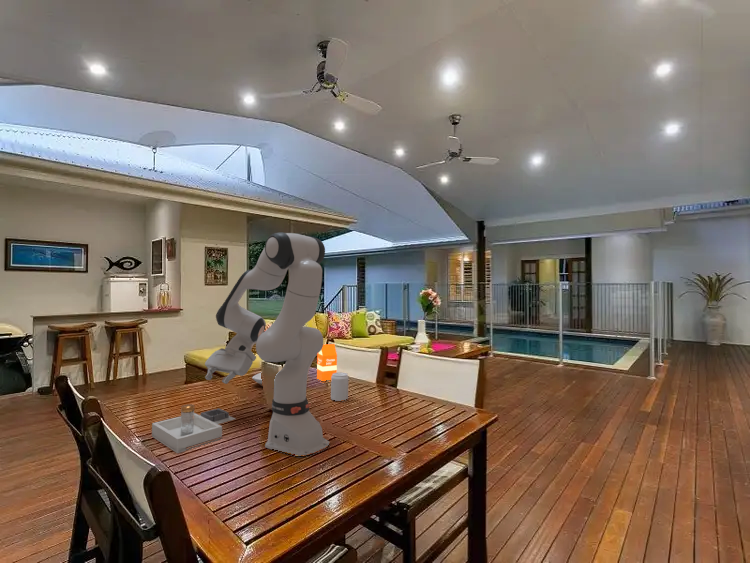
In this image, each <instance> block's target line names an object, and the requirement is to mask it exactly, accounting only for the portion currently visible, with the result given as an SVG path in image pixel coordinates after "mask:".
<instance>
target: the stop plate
mask: <svg viewBox="0 0 750 563" xmlns="http://www.w3.org/2000/svg"><path fill="white" fill-rule="evenodd" d="M199 415H200V416H202V417H204V418H206V419H208V420H210V421H212V422H214V423H216V424H218V425H220V424H223V423H226V422H230V421H233V420H236V418H235V417H233V416H230V413H229V412H228V411H226V410H224V409H221V408H215V409H210V410H206V411H204V412H200V414H199Z"/></svg>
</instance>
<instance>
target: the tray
mask: <svg viewBox="0 0 750 563" xmlns="http://www.w3.org/2000/svg"><path fill="white" fill-rule="evenodd" d="M200 415H201V414H198V413H195V412H194V426H193V433H192V434H189V435H185V436H182V437H181V436H180V434H181V415H180V416H177V417H173V418H168V419H165V420H160V421H157V422H152V423H151V437H153V439H155V440H156V441H158V442H159V443H161V444H163V446H166V447H167V448H169V449H170V450H172V451H173V452H174V453H176V454H180V453H183V452H186V450H187V451H189V449H190V450H193V449H195V447H196V448H199V447H202V446H201V445H203V446H205V444H206V445H208V443H209V444H212V443H214V442H215V443H216V442H218V441H221V439H222V440H223V438H222V437H223V425H220V424H216V423H214V422H212V421H210V420H208V419H206V418H204V417H202V416H200ZM211 442H212V443H211ZM192 448H193V449H192Z"/></svg>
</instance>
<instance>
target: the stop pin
mask: <svg viewBox="0 0 750 563" xmlns="http://www.w3.org/2000/svg"><path fill="white" fill-rule="evenodd" d="M180 412H181V413H180V414H181V415H180V416H181V434H180V436H181V437H182V436H185V435H189V434H192V433H193V426H194V413H195V404H193V403H190V404H189V403H188V404H184V405H183V404H182V405H181V406H180Z"/></svg>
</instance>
